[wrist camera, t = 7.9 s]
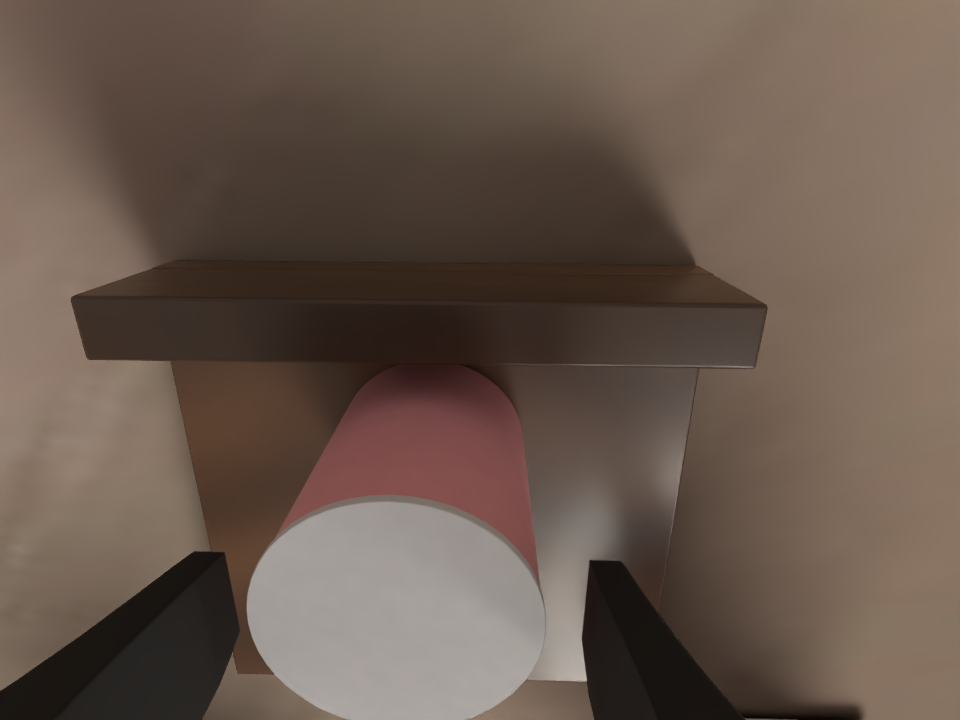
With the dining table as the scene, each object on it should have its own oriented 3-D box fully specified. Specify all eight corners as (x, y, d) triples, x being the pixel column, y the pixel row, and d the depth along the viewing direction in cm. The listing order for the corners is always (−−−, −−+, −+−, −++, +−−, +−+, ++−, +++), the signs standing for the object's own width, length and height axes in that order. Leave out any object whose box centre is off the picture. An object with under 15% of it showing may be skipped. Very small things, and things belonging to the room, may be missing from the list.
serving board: (639, 655, 21) (673, 772, 17) (250, 646, 21) (195, 760, 17) (699, 265, 15) (770, 304, 11) (174, 259, 16) (67, 296, 12)
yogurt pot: (521, 520, 17) (539, 732, 11) (348, 517, 17) (267, 726, 11) (528, 358, 15) (554, 504, 9) (332, 355, 15) (223, 497, 9)
